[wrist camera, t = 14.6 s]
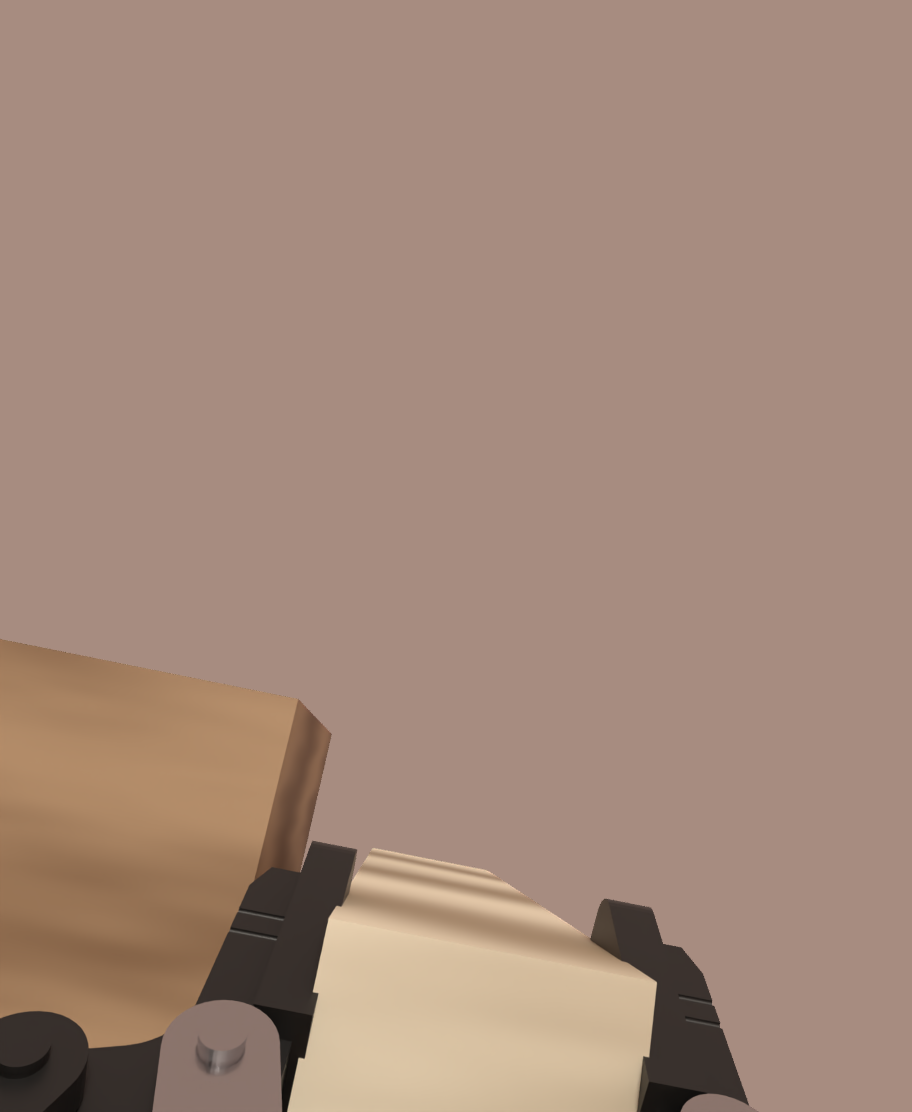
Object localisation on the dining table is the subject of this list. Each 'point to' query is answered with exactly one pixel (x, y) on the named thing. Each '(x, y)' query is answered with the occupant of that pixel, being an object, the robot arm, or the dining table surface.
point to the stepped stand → (136, 831)
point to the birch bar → (467, 1002)
